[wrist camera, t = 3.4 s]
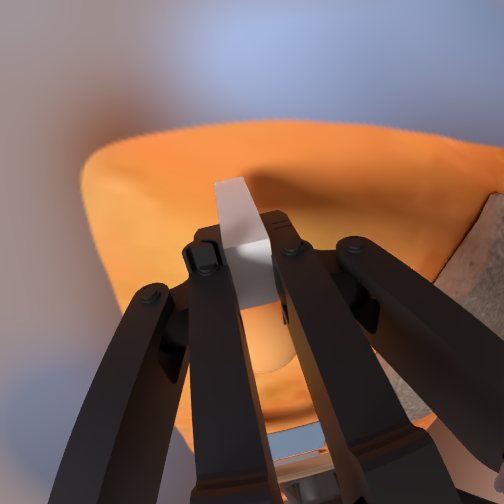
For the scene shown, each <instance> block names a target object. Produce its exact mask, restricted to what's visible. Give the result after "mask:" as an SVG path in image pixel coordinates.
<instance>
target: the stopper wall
mask: <svg viewBox="0 0 504 504" xmlns="http://www.w3.org/2000/svg"><path fill="white" fill-rule="evenodd" d="M319 455H320V454H319V451H318V450H316V451H313V452H309V453H305V454H301V455H298V456H294V457H290V458H285V459H281V460H277V461H273V463H274V467H276V466H280V465H285V464H289V463H293V462H297V461H301V460H305V459H309V458H312V457H316V456H319Z"/></svg>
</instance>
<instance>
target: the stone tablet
mask: <svg viewBox="0 0 504 504" xmlns="http://www.w3.org/2000/svg"><path fill="white" fill-rule="evenodd" d="M433 285H435V286H436V287H437V288H439V289H440V290H441V291H443V292H444V293H445V294H447V295H448V296H449V297H451V298H452V299H453V300H454V301H456V302H457V303H458V304H460V305H461V306H462V307H463V308H465V309H466V310H467V311H468V312H470V313H471V314H472V315H473V316H475V317H476V318H477V319H478V320H480V321H481V322H482V323H483V324H485V325H486V326H487V327H488V328H489V329H491V330H492V331H493V332H494V333H495V334H497V335H498V336H499V337H500V338H501V339H502V340H504V194H502V193H494V194H491V195H490V197H489V199H488V201H487V202H486V204H485V206H484V208H483V210H482V213H481V215H480V217H479V219H478V221H477V222H476V224H475V225H474V227H473V228H472V229H471V231H470V232H469V233H468V234H467V236H466V237H465V239H464V241H463V242H462V244H461V245H460V246H459V248H458V249H457V250H456V252H455V253H454V254H453V256H452V257H451V259H450V260H449V261H448V263H447V264H446V266H445V268H444V269H443V270H442V272H441V273H440V274H439V276H438V278H437V279H436V281H435V283H434V284H433ZM375 355H376V357H377V358H378V360H379V362H380V364H381V366H382V368H383V370H384V372H385V373H386V375H387V377H388V379H389V381H390V383H391V385H392V387H393V389H394V391H395V393H396V394H397V396H398V398H399V400H400V402H401V404H402V406H403V408H404V410H405V412H406V414H407V416H408V418H409V420H410V421H411V422H415V421H417V420H418V419H422V418H424V417H426V416H427V415H429V414H431V413H432V412H433V411H432V410H431V409H430V408H429V407H428V406H427V405H426V404H425V402H424V401H423V400H422V399H421V398H420V397H419V396H418V395H417V394H416V393H415V392H414V391H413V390H412V388H411V387H410V386H409V385H408V384H407V383H406V382H405V381H404V380H403V379H402V378H401V377H400V376H399V375H398V374H397V373H396V371H395V370H394V369H393V368H392V367H391V366H390V365H389V364H388V363H387V362H386V361H385V360H384V359H383V358H382V357H381V356H380V355H379V353H378V352H377V353H376V354H375Z"/></svg>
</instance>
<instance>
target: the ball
mask: <svg viewBox="0 0 504 504" xmlns="http://www.w3.org/2000/svg"><path fill="white" fill-rule="evenodd" d="M240 312H241V316H242V320H243V325H244V329H245V334H246V339H247V344H248V349H249V354H250V359H251V363H252V368H253V372H255V373H268V372H273V371H276V370H278V369H280V368H282V367H284V366H285V365H287V364H288V363H289V362H290V361H291V360H292V359H293V358H294V356H295V355H296V351H295V348H294V345H293V342H292V339H291V336H290V333H289V330H288V327H287V324H286V325H284V322H283V315H282V308H281V301H280V298H279V301H278V302H274V303H270V304H266V305H261V306H257V307H253V308H249V309H244V310H240Z"/></svg>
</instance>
